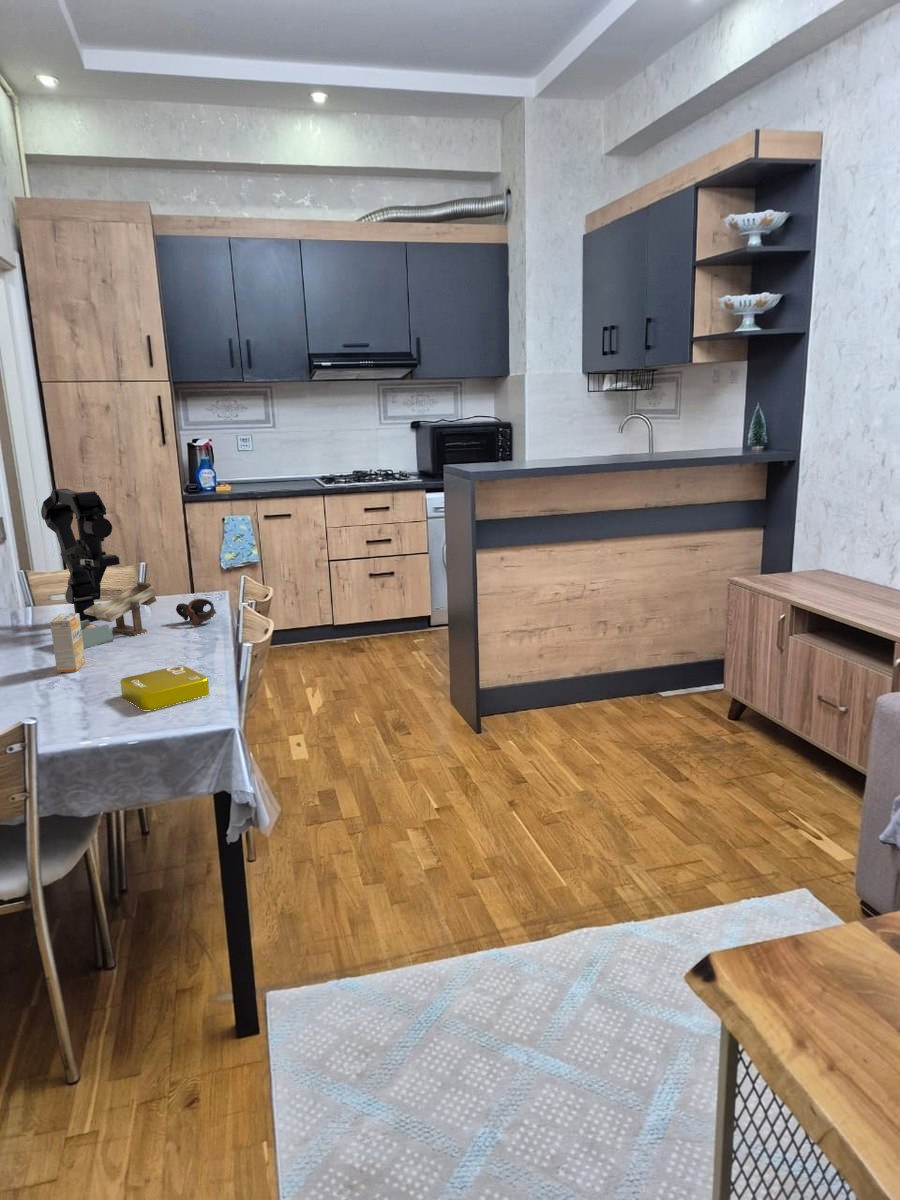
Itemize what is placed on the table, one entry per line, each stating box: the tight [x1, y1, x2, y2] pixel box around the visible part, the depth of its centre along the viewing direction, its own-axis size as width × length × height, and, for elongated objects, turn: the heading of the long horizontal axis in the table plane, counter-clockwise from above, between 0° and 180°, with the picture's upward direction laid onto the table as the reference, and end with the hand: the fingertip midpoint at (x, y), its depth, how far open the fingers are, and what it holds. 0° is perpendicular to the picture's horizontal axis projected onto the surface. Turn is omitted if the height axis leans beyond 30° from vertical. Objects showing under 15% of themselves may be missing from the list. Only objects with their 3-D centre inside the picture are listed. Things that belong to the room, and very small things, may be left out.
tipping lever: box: [83, 581, 157, 623], centre depth 232 cm, size 16×15×5 cm
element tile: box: [119, 664, 210, 711], centre depth 175 cm, size 15×15×5 cm
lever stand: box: [111, 597, 148, 636], centre depth 230 cm, size 4×11×10 cm, turn 54°
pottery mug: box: [175, 598, 217, 627], centre depth 239 cm, size 12×10×8 cm
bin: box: [80, 620, 114, 649], centre depth 220 cm, size 11×11×5 cm
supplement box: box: [49, 612, 86, 674], centre depth 197 cm, size 8×5×13 cm, turn 9°
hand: (96, 587), depth 235 cm, fingers closed
